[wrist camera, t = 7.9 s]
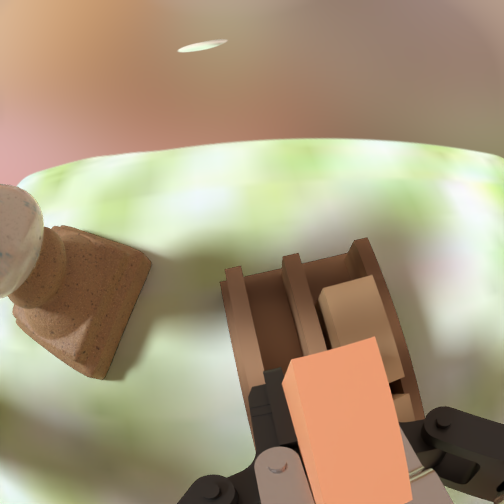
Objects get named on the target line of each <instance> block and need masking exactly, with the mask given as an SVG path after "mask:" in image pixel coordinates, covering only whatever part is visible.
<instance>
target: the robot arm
mask: <svg viewBox="0 0 504 504" xmlns="http://www.w3.org/2000/svg"><path fill="white" fill-rule="evenodd" d="M263 375H264V379H265V384H263V385H258V386H254V387H252V388H251V391H250V393H249V396H248V401H249V408H250V415H251V422H252V428H253V435H254V441H255V447H256V456H255V459H254V461H253V462H252V464H251V465H250V466H249V467H248V468H246V469H245V470H243V471H241V472H239V473H237V474H235V475H232V476H230V477H227V478H225V477H223V476H220V475H207V476H203V477H201V478H199V479H197V480H196V481H195V482H194V483H193V484H192V485H191V487H190V488H189V489H188V491H187V492H186V493H185V494H184V496H183V497H182V498H181V499H180V501H179V502H178V503H177V504H315V503H314V500H313V497H312V494H311V491H310V487H309V484H308V481H307V478H306V475H305V472H304V466H303V462H302V459H301V455H300V452H299V447H298V440H297V436H296V433H295V429H294V426H293V422H292V418H291V415H290V411H289V408H288V404H287V400H286V397H285V393H284V390H283V386H282V382H283V379H284V375H283V371H282V368H281V367H279V368H275V369H270V370H266V371H263ZM398 423H399V427H400V432H401V436H402V441H403V446H404V451H405V456H406V461H407V467H408V473H409V479H410V485H411V491H412V499H413V500H411V501H409V502H407V503H405V504H453V502H452V500H451V498H450V496H449V494H448V493H447V491H446V489H445V487H444V486H446V487H449V488H452V489H455V490H457V491H460V492H463V493H466V494H469V495H472V496H475V497H478V498H481V499H485V500H488V501H492V502H494V504H504V424H501V423H497V422H494V421H491V420H487V419H484V418H481V417H478V416H475V415H472V414H469V413H466V412H463V411H460V410H457V409H454V408H451V407H438V408H435V409H433V410H432V411H430V412H429V413H428V414H427V416H426V418H425V419H423V420H417V421H411V422H398Z"/></svg>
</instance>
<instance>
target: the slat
mask: <svg viewBox="0 0 504 504" xmlns="http://www.w3.org/2000/svg"><path fill="white" fill-rule="evenodd" d="M282 386H283V390H284V393H285V397H286V400H287V404H288V408H289V411H290V415H291V418H292V422H293V426H294V429H295V433H296V436H297V440H298V447H299V452H300V455H301V459H302V462H303V466H304V472H305V475H306V478H307V481H308V484H309V487H310V491H311V494H312V497H313V499H314V501H315V503H316V504H405V503H407V502H409V501H411V500H413V499H412V491H411V485H410V479H409V473H408V467H407V461H406V456H405V451H404V446H403V441H402V436H401V432H400V427H399V423H398V418H397V414H396V410H395V406H394V402H393V398H392V394H391V390H390V387H389V383H388V379H387V376H386V372H385V368H384V365H383V361H382V358H381V355H380V351H379V348H378V345H377V342H376V338H375V336H374V337H371V338H368V339H365V340H362V341H358V342H355V343H352V344H348V345H345V346H341V347H338V348H334V349H331V350H327V351H323V352H319V353H316V354H312V355H308V356H304V357H300V358H295V359H291V361H290V364H289V366H288V369H287V371H286V374H285V377H284V379H283V382H282Z"/></svg>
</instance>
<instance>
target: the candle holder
mask: <svg viewBox="0 0 504 504" xmlns="http://www.w3.org/2000/svg"><path fill="white" fill-rule="evenodd" d="M150 268H151V261H150V260H149V259H148V258H147V257H146V256H145V254H144V253H142V252H141V251H139V250H136V249H134V248H132V247H129V246H127V245H124V244H121V243H117V242H114V241H111V240H108V239H105V238H102V237H99V236H96V235H94V234H91V233H88V232H85V231H82V230H79V229H76V228H73V227H69V226H65V225H61V227H58V226H54V227H53V228H52V229H50V228H47V227H44V222H43V215H42V211H41V209H40V206H39V204H38V203H37V201H36V200H35V199H34V197H33V196H32V195H31V194H29V193H28V192H27V191H25V190H23V189H21V188H19V187H15V186H12V185H5V184H0V298H4V297H6V296H8V297H9V299H10V300H11V301H12V302H13V303H14V307H13V315H14V317H15V318H16V323H17V325H18V326H19V327H20V328H21V329H22V330H23V331H24V332H25V333H26V334H27V335H29V336H30V337H31V338H32V339H34V340H35V341H36V342H37V343H39V344H40V345H41V346H43V347H44V348H45V349H46V350H48V351H49V352H50V353H52V354H53V355H55V356H56V357H57V358H59V359H60V360H61V361H63V362H64V363H66V364H67V365H69V366H70V367H72V368H73V369H75V370H76V371H78V372H80V373H82V374H84V375H85V376H87V377H90V378H96V379H101V380H103V379H104V378H105V377H106V374H107V372H108V370H109V367H110V365H111V363H112V360H113V357H114V355H115V352H116V350H117V347H118V344H119V342H120V339H121V337H122V334H123V332H124V329H125V327H126V324H127V322H128V320H129V317H130V315H131V312H132V310H133V308H134V305H135V303H136V301H137V299H138V296H139V294H140V292H141V289H142V287H143V285H144V283H145V280H146V278H147V275H148V273H149V270H150Z"/></svg>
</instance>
